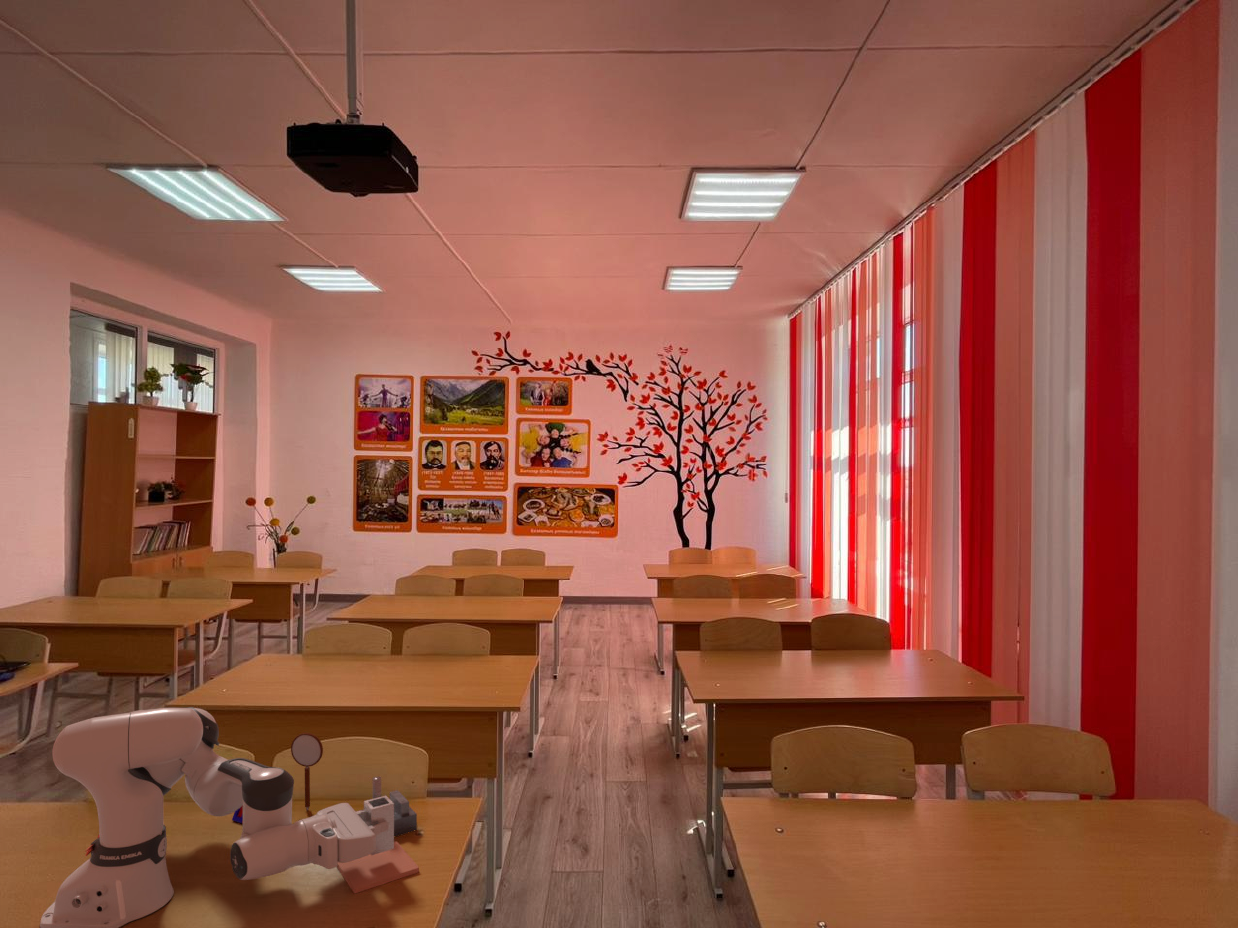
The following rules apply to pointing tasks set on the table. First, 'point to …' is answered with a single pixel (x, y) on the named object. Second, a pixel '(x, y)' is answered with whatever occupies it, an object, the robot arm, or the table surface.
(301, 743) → the magnifying glass
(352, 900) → the table surface
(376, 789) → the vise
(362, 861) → the terracotta mat
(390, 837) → the steel sleeve
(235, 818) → the toy building block
